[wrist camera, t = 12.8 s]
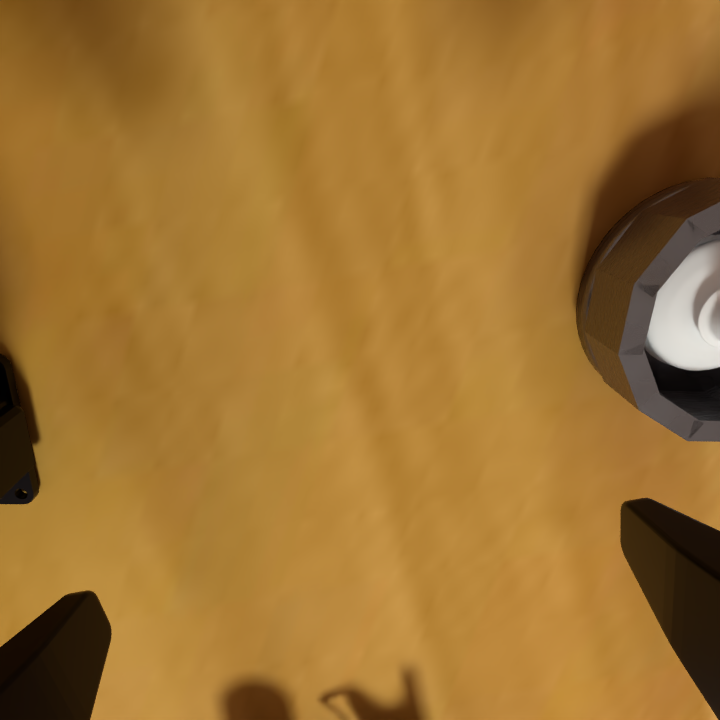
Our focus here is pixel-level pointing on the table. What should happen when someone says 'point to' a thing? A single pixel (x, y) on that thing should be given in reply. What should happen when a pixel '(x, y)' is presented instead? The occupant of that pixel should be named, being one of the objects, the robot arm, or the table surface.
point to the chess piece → (689, 312)
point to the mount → (650, 307)
